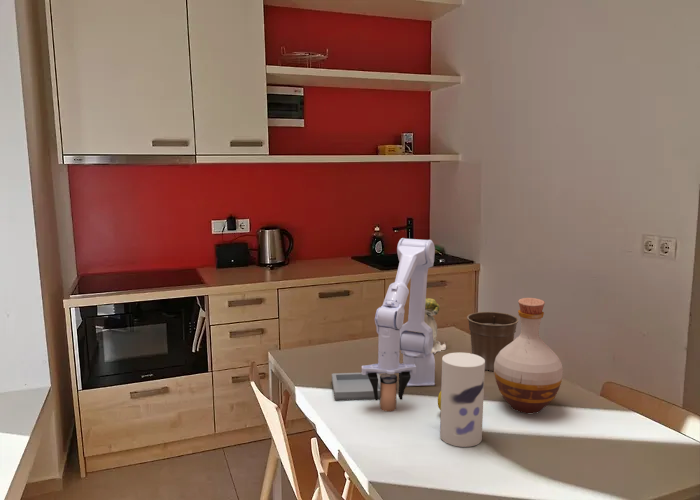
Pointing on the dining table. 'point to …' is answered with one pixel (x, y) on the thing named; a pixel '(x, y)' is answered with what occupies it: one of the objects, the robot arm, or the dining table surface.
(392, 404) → the shaker
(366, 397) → the tray
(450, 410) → the container
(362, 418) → the dining table surface
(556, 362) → the jug
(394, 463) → the dining table surface
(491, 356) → the plant pot
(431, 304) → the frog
